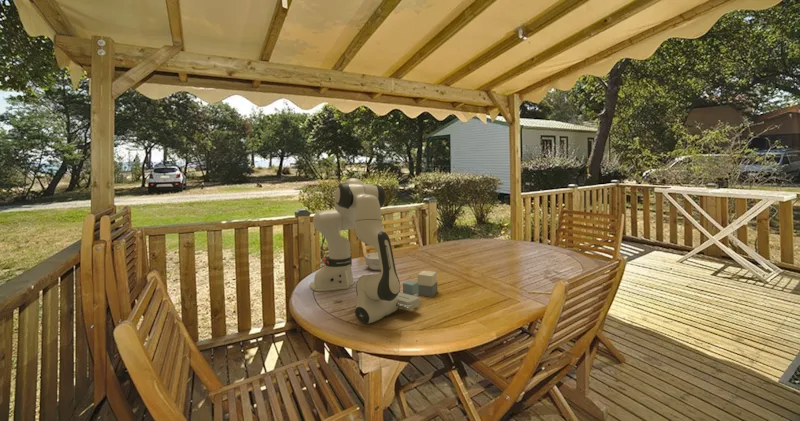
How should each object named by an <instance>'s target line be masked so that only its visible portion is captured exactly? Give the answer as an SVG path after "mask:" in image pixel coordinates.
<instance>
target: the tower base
mask: <svg viewBox="0 0 800 421" xmlns="http://www.w3.org/2000/svg"><path fill="white" fill-rule="evenodd" d="M437 292H438V281H436V283H435V284H434V285H433V286H432V287H431V286H423V285H419V296H421V297H431V298H433V297H434V296H435V295H436V294H437Z"/></svg>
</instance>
